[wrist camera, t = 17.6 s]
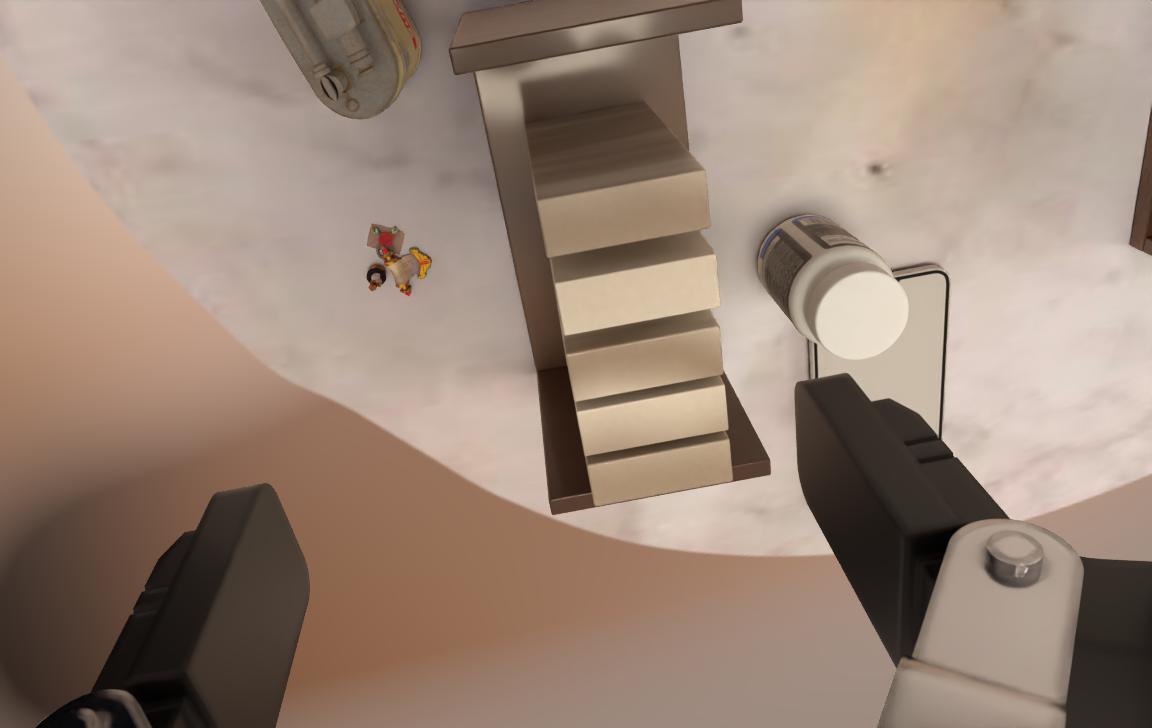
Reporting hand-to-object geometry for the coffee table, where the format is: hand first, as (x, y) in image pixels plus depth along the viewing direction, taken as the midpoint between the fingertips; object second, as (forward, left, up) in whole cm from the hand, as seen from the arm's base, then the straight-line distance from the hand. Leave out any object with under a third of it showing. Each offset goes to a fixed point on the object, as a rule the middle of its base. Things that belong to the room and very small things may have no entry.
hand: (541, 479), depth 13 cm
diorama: (+8, -4, -29) cm, 30 cm away
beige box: (+3, +5, -27) cm, 28 cm away
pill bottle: (+4, +16, -28) cm, 33 cm away
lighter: (-3, -7, -29) cm, 30 cm away
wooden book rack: (+3, +5, -28) cm, 29 cm away
